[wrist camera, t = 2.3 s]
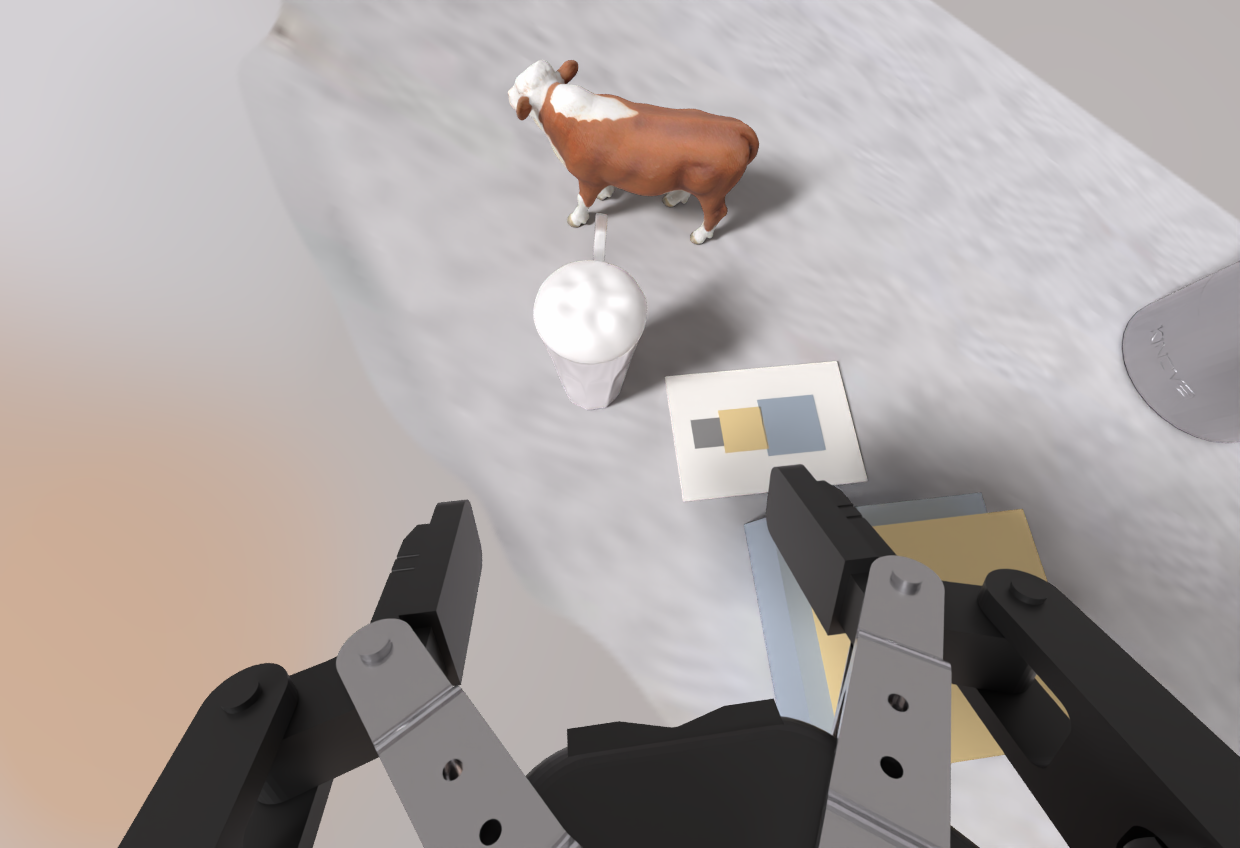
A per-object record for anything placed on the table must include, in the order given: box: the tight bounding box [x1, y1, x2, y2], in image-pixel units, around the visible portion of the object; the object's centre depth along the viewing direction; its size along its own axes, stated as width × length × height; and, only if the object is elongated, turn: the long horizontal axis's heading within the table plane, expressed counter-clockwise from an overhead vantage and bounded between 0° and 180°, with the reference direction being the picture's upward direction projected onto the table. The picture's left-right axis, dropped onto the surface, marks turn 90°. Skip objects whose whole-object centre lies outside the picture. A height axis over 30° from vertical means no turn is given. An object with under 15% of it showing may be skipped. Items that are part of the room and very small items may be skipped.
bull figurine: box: [508, 60, 759, 244], centre depth 27 cm, size 4×13×8 cm, turn 78°
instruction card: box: [665, 361, 868, 502], centre depth 27 cm, size 10×7×1 cm
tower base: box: [744, 492, 1070, 763], centre depth 21 cm, size 10×10×7 cm
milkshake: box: [533, 213, 647, 410], centre depth 23 cm, size 4×5×10 cm
